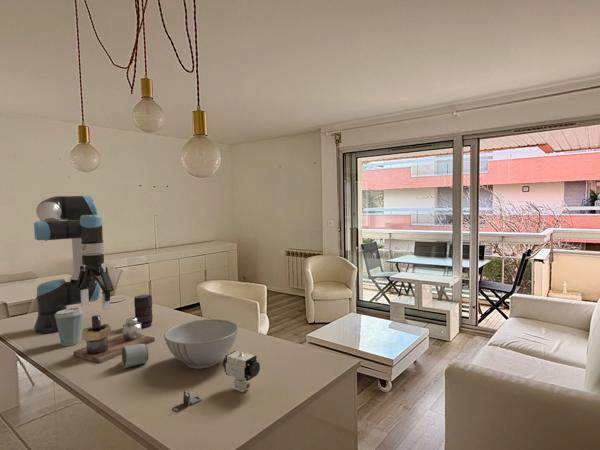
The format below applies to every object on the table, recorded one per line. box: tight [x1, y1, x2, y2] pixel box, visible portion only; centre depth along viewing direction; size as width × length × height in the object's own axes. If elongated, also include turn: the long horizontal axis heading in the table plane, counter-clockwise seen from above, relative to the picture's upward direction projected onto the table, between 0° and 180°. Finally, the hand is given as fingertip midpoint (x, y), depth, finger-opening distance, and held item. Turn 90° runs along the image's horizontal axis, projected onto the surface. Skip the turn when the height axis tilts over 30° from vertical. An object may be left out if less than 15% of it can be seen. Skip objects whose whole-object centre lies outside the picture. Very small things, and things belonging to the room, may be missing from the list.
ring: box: [81, 323, 112, 341], centre depth 146 cm, size 9×9×4 cm
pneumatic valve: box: [222, 350, 261, 393], centre depth 116 cm, size 6×12×12 cm, turn 58°
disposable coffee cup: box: [55, 306, 84, 347], centre depth 160 cm, size 11×11×15 cm
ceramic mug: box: [121, 344, 150, 369], centre depth 138 cm, size 11×8×8 cm
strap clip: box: [171, 390, 203, 413], centre depth 108 cm, size 8×3×4 cm, turn 137°
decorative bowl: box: [163, 318, 239, 370], centre depth 138 cm, size 27×27×12 cm
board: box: [73, 333, 156, 364], centre depth 154 cm, size 17×25×2 cm
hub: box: [122, 316, 143, 341], centre depth 161 cm, size 7×7×8 cm
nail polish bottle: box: [85, 314, 109, 355], centre depth 146 cm, size 7×7×14 cm
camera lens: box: [133, 294, 154, 329], centre depth 181 cm, size 8×8×15 cm
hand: (95, 307), depth 146 cm, fingers open, 13 cm apart
